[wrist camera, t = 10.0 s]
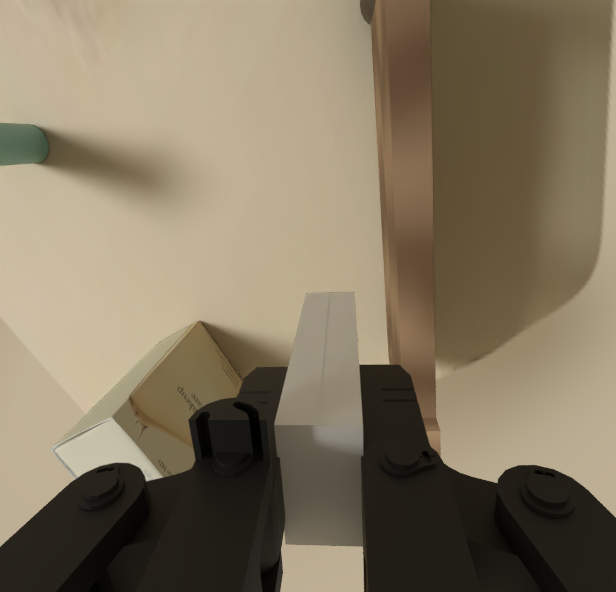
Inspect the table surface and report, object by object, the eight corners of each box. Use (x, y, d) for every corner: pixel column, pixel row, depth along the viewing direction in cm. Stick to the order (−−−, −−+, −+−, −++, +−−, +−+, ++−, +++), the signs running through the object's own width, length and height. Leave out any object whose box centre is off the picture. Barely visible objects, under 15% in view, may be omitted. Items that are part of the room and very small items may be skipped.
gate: (358, -19, 24) (370, -191, 11) (403, -27, 23) (464, -210, 11) (380, 350, 31) (402, 487, 19) (415, 348, 31) (459, 486, 18)
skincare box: (245, 382, 33) (191, 510, 22) (199, 406, 34) (125, 538, 23) (197, 316, 32) (112, 415, 20) (151, 343, 33) (45, 451, 21)
